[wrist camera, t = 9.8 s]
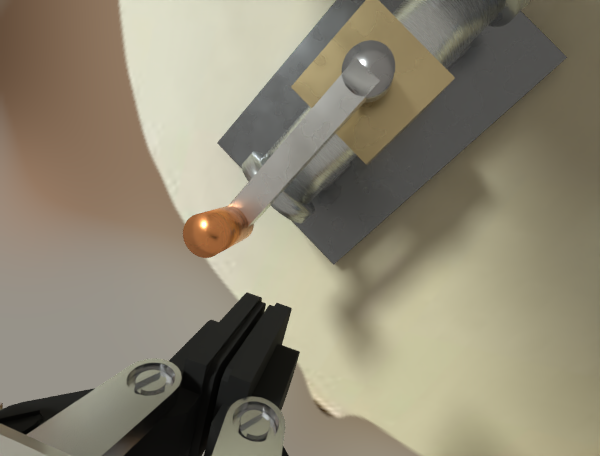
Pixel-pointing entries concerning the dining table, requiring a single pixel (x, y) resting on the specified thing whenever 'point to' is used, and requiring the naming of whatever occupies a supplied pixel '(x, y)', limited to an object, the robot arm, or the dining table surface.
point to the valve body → (391, 106)
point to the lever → (295, 150)
